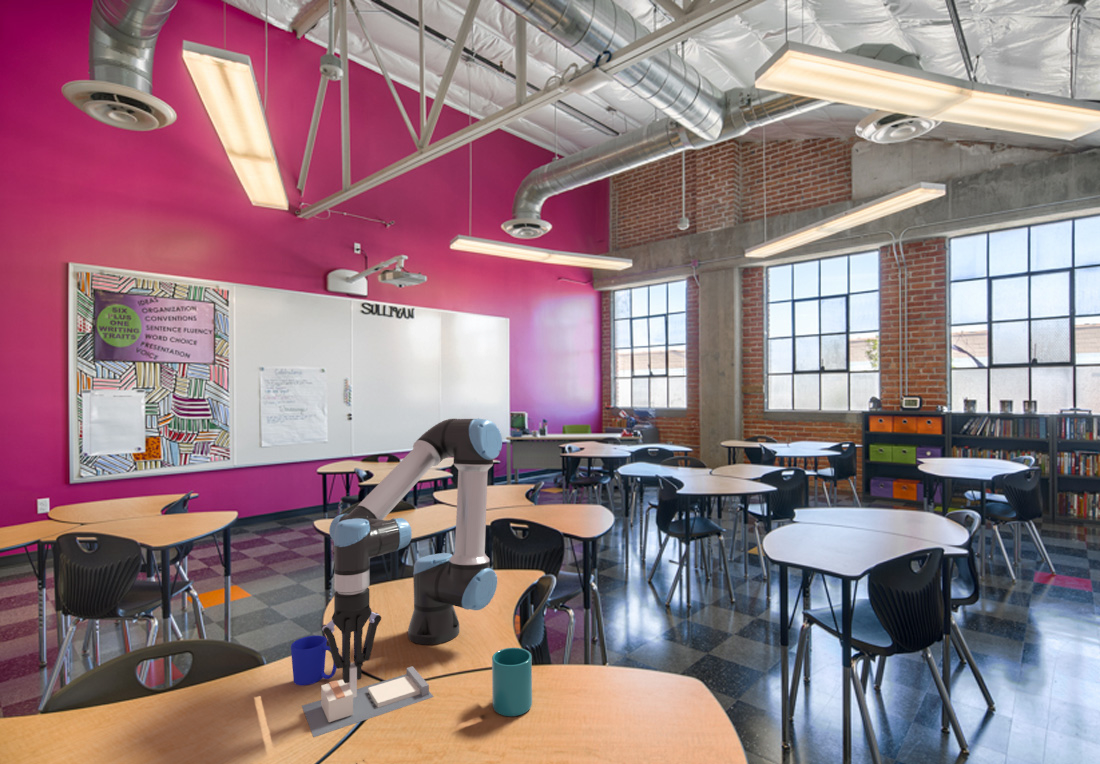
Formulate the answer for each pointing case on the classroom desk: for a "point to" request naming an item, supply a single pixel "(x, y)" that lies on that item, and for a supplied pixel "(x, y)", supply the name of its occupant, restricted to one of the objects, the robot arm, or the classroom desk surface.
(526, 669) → the cup
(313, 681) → the mug
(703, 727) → the classroom desk surface
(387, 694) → the clipboard
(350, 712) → the white box
